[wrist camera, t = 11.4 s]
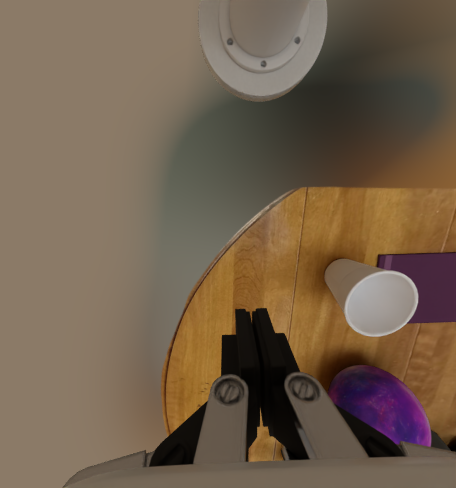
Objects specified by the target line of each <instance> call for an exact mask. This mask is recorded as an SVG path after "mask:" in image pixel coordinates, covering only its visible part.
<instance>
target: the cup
mask: <svg viewBox="0 0 456 488" xmlns="http://www.w3.org/2000/svg"><path fill="white" fill-rule="evenodd" d="M324 277H325V282H326V284H327V285H328V287H329V289H330V290H331V292H332V294H333V296H334V297H335V299H336V301H337V302H338V304H339V306H340V307H341V309H342V311H343V312H344V315H345V318H346V321H347V322H348V324H349V325H350V326H351V327H352V329H353V330H355V331H357V332H358V333H360V334H363V335H366V336H384V335H388V334H391V333H393V332H395V331H397V330H399V329H400V328H401V327H403V326H404V325H405V324H406V323H407V322H408V321H409V320H410V319H411V317H412V316H413V315H414V312H415V310H416V308H417V304H418V292H417V288H416V286H415V284H414V283H413V281H412V280H411V279H410V278H409V277H407V276H406V275H404V274H402V273H400V272H397V271H392V270H384V269H381V268H377V267H373V266H370V265H366V264H363V263H360V262H356V261H353V260H350V259H338V260H335V261H334V262H332V263H331V264H330V265H329V266H328V267H327V269H326V271H325V276H324Z"/></svg>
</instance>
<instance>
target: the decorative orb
mask: <svg viewBox="0 0 456 488" xmlns="http://www.w3.org/2000/svg"><path fill="white" fill-rule="evenodd" d="M328 396H329V397H330V399H331V400H332V402H333V403H334V404H336V405H338V406H339V407H341V408H342V409H344V410H346V411H347V412H349V413H350V414H352V415H354V416H355V417H357V418H359V419H360V420H362V421H363V422H365V423H367V424H368V425H370V426H371V427H373V428H375V429H376V430H378V431H379V432H381V433H383V434H384V435H386V436H387V437H388V438H390V439H391V440H392V441H393V442H394V443H395V444H399V443H400V441H404V442H409V443H414V444H419V445H424V446H429V447H431V430H430V425H429V421H428V418H427V416H426V413H425V411H424V409H423V407H422V405H421V404H420V402H419V400H418V399H417V398H416V396H415V395H414V394H413V392H412V391H411V390H410V389H409V388H408V387H407V386H406V385H405V384H404V383H403V382H401V381H400V380H399V379H398V378H396V377H395V376H393V375H392V374H390V373H388V372H386V371H384V370H382V369H379V368H376V367H373V366H368V365H355V366H351V367H348V368H345V369H343V370H342V371H340V372H339V373H338V374H337V375H336V376H335V377H334V379H333V380H332V382H331V384H330V387H329V390H328Z"/></svg>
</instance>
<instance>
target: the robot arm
mask: <svg viewBox="0 0 456 488" xmlns="http://www.w3.org/2000/svg"><path fill="white" fill-rule="evenodd" d="M309 1H310V0H220V5H219V17H218V20H219V31H220V36H221V40H222V43H223V45H224V48H225V50H226V51H227V53H228V55H229V56H230V57H231V59H232V60H233V61H234V62H235V63H236V64H237V65H239V66H240V67H241V68H243V69H245V70H247V71H250V72H253V73H264V74H265V73H270V72H274V71H276V70H278V69H280V68H282V67H283V66H285V65H286V64H287V63H288V62H289V61H290V60H291V59H292V58H293V57H294V56H295V55H296V53H297V52H298V50H299V49H300V47H301V45H302V43H303V41H304V38H305V35H306V33H307V28H308V24H309ZM296 43H297V44H296ZM229 44H231V46H229ZM261 66H264V68H263V67H261ZM235 318H236V335H222V360H221V377H219V378H217V379H216V380H215V381H214V383H213V384H212V387H211V390H210V394H209V398H208V401H207V402H206V403H205V404H204V405H202V406H201V407H200V408H199V409H198V410H197V411H196V412H195V413H194V414H193V415H191V416H190V417H189V418H188V419H187V420H186V421H185V422H184V423H183V424H182V425H180V426H179V427H178V428H177V429H176V430H175V431H174V432H173V433H172V434H171V435H169V436H168V437H167V438H166V439H165V440H164V441H163V442H162V443H161V444H160V445H159V446H158V447H157V448H156V450H155V451H153V452H150V453H147V454H146V450H144V451H141V452H137V453H134V454H131V455H127V456H124V457H121V458H117V459H114V460H110V461H107V462H104V463H101V464H97V465H94V466H90V467H87V468H85V469H83V470H81V471H79V472H77V473H76V474H75V475H74V476H72V477H71V478H70V479H69V480H68V482H67V483H66V484H65V485H64V486H63V488H456V452H453V451H449V450H444V449H439V448H434V447H429V446H424V445H419V444H414V443H409V442H404V441H400V443H399V444H395V443H394V442H393V441H392V440H391V439H390V438H388V437H387V436H386V435H384V434H383V433H381V432H379V431H378V430H376V429H375V428H373V427H371V426H370V425H368V424H367V423H365V422H363V421H362V420H360V419H359V418H357V417H355V416H354V415H352V414H350V413H349V412H347V411H346V410H344V409H342V408H341V407H339V406H338V405H336V404H334V403H333V402H332V400H331V399H330V397H329V396H328V394H327V393H326V391H325V390H324V388H323V387H322V385H321V384H320V382H319V381H318V380H317V379H316V378H314V377H313V376H311V375H309V374H307V373H303V372H300V370H299V368H298V365H297V363H296V360H295V358H294V355H293V353H292V351H291V348H290V346H289V343H288V341H287V338H286V336H285V334H284V333H275V332H274V329H273V326H272V323H271V320H270V317H269V314H268V311H267V309H266V308H258V309H256V311H252V322H251V317H250V312H246V310H245V309H235ZM260 409H261V415H262V421H263V426H264V427H266V426H268V429H269V435H270V436H273V437H274V438H276V439H277V440H278V441H279V442H280V443H281V444H282V445H281V447H282V452H283V455H284V458H285V461H259V462H248V460H249V447H250V446H251V445H252V443H253V442H254V441H255V439H256V438H257V427H260Z"/></svg>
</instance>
